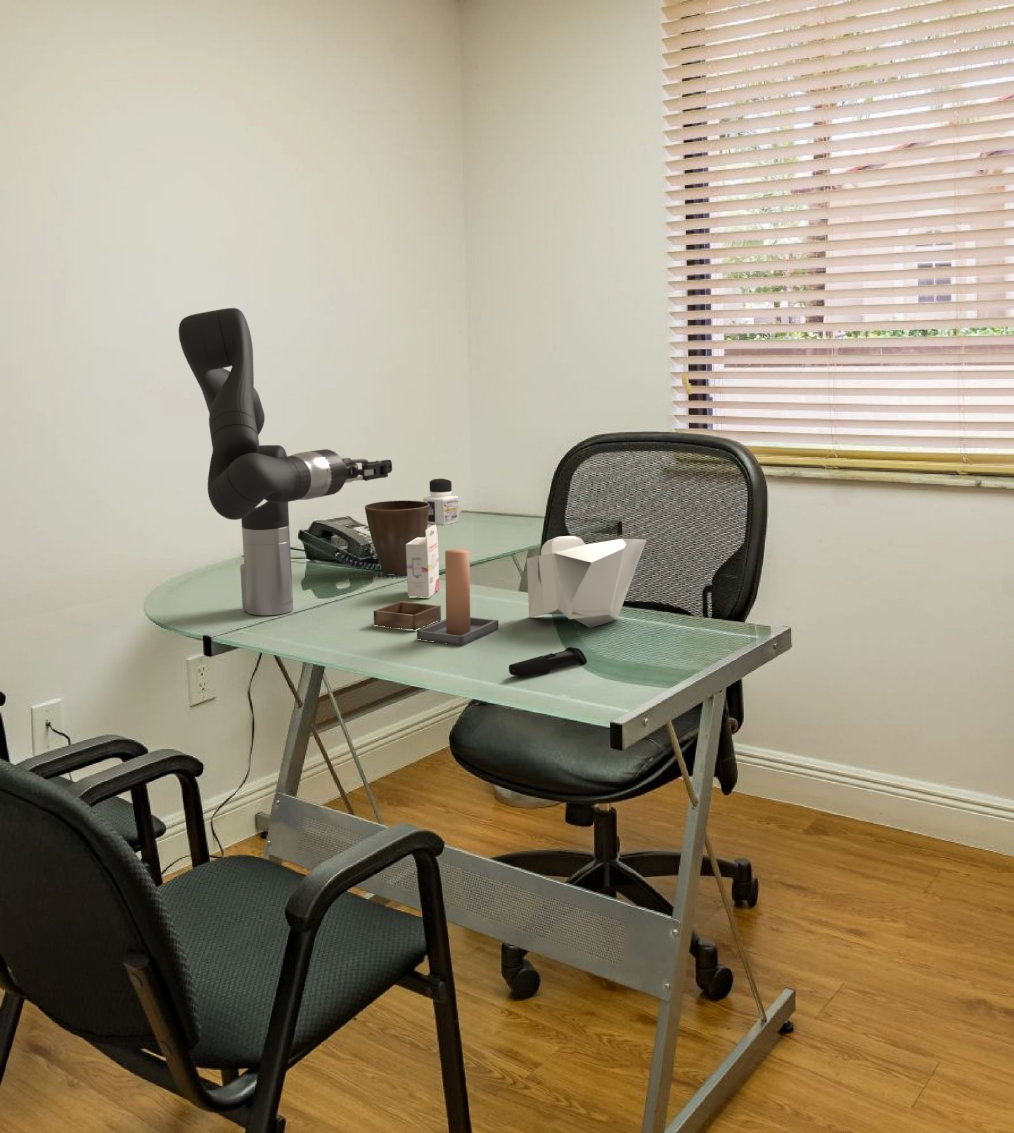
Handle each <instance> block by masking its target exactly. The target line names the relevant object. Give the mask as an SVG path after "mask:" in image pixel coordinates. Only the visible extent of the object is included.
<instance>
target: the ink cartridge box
mask: <svg viewBox="0 0 1014 1133" xmlns="http://www.w3.org/2000/svg"><path fill="white" fill-rule="evenodd" d="M437 529H438V528H437V524H432V525H431V526H430V527H427V529H426V530H425V534H426V536H425V538H423V537H417V538H415V539H414V540H412V541H411V542H409V543H407V544H406V560H407V575H406V578H407V580H406V581H407V597H408V596H417V597H421V596H422V597H430V596H431V595H433V593H435V592H436V591H437V590H439V591H440V564H439V559H440V558H439V536H438V530H437ZM431 533H432V534H431ZM435 594H436V593H435ZM433 596H434V595H433Z"/></svg>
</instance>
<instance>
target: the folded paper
mask: <svg viewBox="0 0 1014 1133" xmlns="http://www.w3.org/2000/svg"><path fill="white" fill-rule="evenodd" d="M646 542H647V539H642V538H641V539H639V538H618V539H613V540H607V541H606V540H605V541H600V542H594V543H588V544H587V543H585V542H584V540H583V539H582V538H580V537H578V536H575V535H565V536H557V537H554V538H552V539H549V540H547V541H546V542H544V544H542V547H541V551H540V555H535V556H531V557H528V558H526V569H527V571H526V572H527V596H528V599H527V600H528V601H527V602H528V618H534V617H539V616H544V615H564V616H565V617H566V618H568V620H573V619H574V620H576V621H577V622H579V623H580V624H582V625H584V626H586V627H587V628H589V629H591V628H594V627H597V626H600V625H605V624H608V623H610V622H611V623H612V622H615V621H617V620H618V619H619V616H620V613H621V610H622V607H623V605H624V601H625V600H626V599H625V598H626V597H627V594H628V593H629V592H628V590H629V589H630V586H631V584H632V581H633V578H634V575H635V571H636V569H637V567H638V565H639V564H638V563H639V562H640V558H641V555H642V553H643V551H644V548H645V546H646Z"/></svg>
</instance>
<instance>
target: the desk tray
mask: <svg viewBox="0 0 1014 1133" xmlns="http://www.w3.org/2000/svg"><path fill="white" fill-rule="evenodd" d="M497 630H499V620H498V619H491V618H481V617H472V616H470V632H468V633H466V634H463V635H452V634H448V633H446V618H445V619H441V621H440V622H437V623H435V624H432V625H430V626H428V627H425V628H423V629H420V630H418V631H416V639H421V640H427V641H434V642H439V643H438V644H442V643H447V644H446V645H449V644H451V646H457V645H459V646H458V647H463V645H464V646H465V645H468V644H469V643H472V642H474V641H476V640H479V639H481V638H482V637H485V636H487V635H489V634H491V633H494V632H496V631H497ZM427 641H426V642H427ZM434 642H433V643H434ZM467 643H468V644H467Z"/></svg>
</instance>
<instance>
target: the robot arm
mask: <svg viewBox="0 0 1014 1133" xmlns="http://www.w3.org/2000/svg"><path fill="white" fill-rule="evenodd" d="M178 339H179V343H180V347H181V350H182V352H183V355H184V358H185V360H186V362H187V365H189V368H190V370H191V372H192V374H193V375H194V377H195V379H196V382H197V383H198V385H199V387H200V390H201V392H202V396H203V398H204V400H205V404H206V407H207V410H208V413H209V415H208V426H209V432H210V441H211V446H212V451H211V452H212V453H211V456H210V462H209V469H208V475H207V476H208V477H207V494H208V499H209V501H210V503H211V506H212V508H213V509H214V510H215V511H216V513H217V514H219V515H220V516H221V517H223V518H225V519H227V520H233V521H236V520H237V521H238V520H241V534H242V535H241V536H242V537H241V538H242V552H243V563H241V564H240V566H239V569H240V570H239V571H240V584H241V585H240V586H241V601H242V605H241V607H242V611H243V612H247V613H248V614H249V615H252V616H253V615H256V616H275V615H283V614H286V613H290V612H292V611H293V610H294V596H293V594H294V592H293V575H292V574H293V573H292V571H293V570H292V556H291V552H292V551H291V536H290V535H291V534H290V532H291V531H290V518H289V517H290V516H289V503H290V502H294V501H305V500H306V501H307V500H312V499H317V498H318V499H319V498H321V497H322V498H323V497H327V496H332V495H335V494H337V493H338V492H340V490H342V488H343V487H344V485H345V484H347V483H352V482H354V481H365V482H368V481H371V480H376V479H377V480H378V479H382V478H383V479H384V478H385V479H386V478H387V477H389V473H390V474H391V473H392V471H393V461H392V460H391V459H382V460H374V461H368V460H367V459H365V458H357V459H353V458H352V459H351V458H350V457H341V456H340V455H339V454H338V453H337V452H335V451H333V450H331V449H328V448H327V449H325V448H324V449H317V450H316V449H315V450H310V451H302V452H297V453H295V454H294V453H293V454H291V455H287V451H286V449H285V448H284V447H283V446H282V445H279V444H267V445H266V444H265V445H264V444H263V445H262V444H260V440H259V436H260V433H261V432H262V429H263V427H264V425H265V420H266V419H265V411H264V408H263V404H262V402H261V398H260V395H259V393H258V391H257V389H256V388H255V386H254V384H255V382H254V380H255V378H254V376H255V375H254V348H253V347H254V346H253V340H252V334H251V331H250V328H249V324H248V321H247V318H246V317H245V314H244V313H243V311H242V310H240V308H236V307H229V308H227V307H226V308H220V309H216V310H215V309H214V310H209V311H205V312H200V313H199V312H198V313H195V314H190V315H187V316H185V317H183V318H182V319H181V321H180V323H179V325H178ZM229 367H231V369H230V370H228V369H226V368H229ZM358 464H361V468H359V465H358ZM264 500H265V502H264V503H263V504H261V503H262V502H263V501H264ZM260 504H261V505H260Z"/></svg>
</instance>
